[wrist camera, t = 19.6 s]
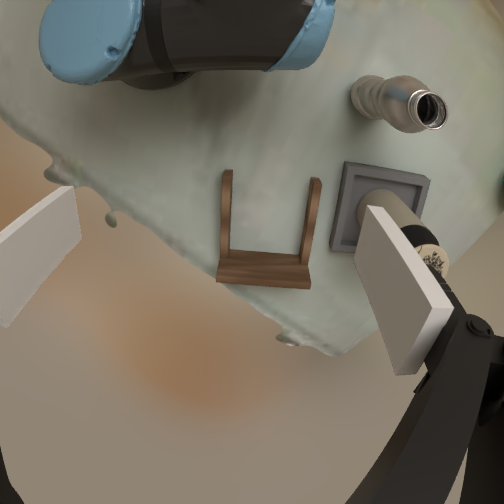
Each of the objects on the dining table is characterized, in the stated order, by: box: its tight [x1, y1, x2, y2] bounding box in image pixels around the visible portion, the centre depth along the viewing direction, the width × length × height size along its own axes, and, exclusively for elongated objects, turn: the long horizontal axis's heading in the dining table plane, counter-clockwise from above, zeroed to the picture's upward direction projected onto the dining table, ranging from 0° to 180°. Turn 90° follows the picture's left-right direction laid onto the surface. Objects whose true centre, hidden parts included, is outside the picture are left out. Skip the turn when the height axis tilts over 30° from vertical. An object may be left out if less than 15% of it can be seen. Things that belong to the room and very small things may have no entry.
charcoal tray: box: [329, 161, 431, 253], centre depth 48 cm, size 14×14×2 cm
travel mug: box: [357, 189, 449, 278], centre depth 41 cm, size 8×8×18 cm
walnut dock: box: [216, 170, 322, 289], centre depth 47 cm, size 15×14×8 cm
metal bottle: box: [351, 75, 448, 133], centre depth 31 cm, size 6×7×20 cm
